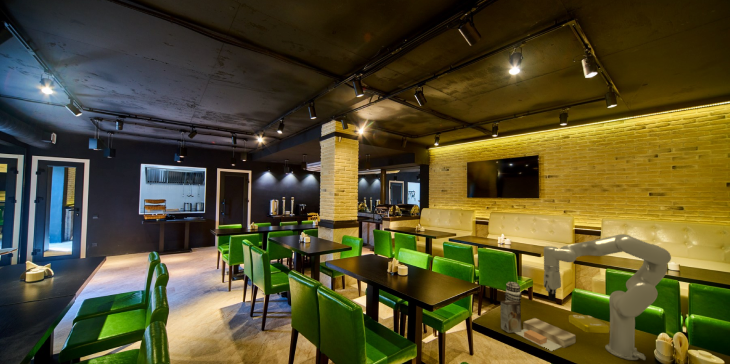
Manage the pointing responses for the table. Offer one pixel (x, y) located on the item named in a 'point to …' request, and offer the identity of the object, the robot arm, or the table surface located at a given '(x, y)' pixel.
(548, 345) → the mat
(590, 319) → the element tile
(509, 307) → the coffee box
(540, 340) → the orange rectangular block
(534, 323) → the beige brown rectangular block
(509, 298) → the decorative candle
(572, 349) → the table surface
